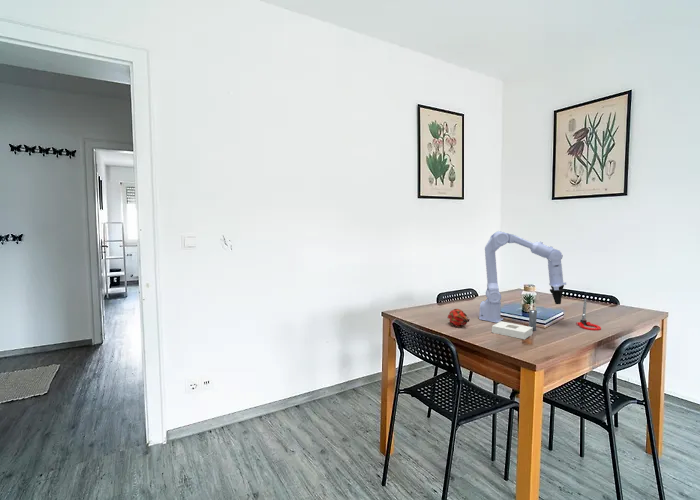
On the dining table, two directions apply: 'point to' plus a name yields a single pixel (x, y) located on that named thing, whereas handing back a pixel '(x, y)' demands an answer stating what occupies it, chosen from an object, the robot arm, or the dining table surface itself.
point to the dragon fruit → (458, 317)
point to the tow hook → (584, 321)
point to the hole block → (512, 330)
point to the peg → (532, 319)
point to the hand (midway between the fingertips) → (558, 302)
